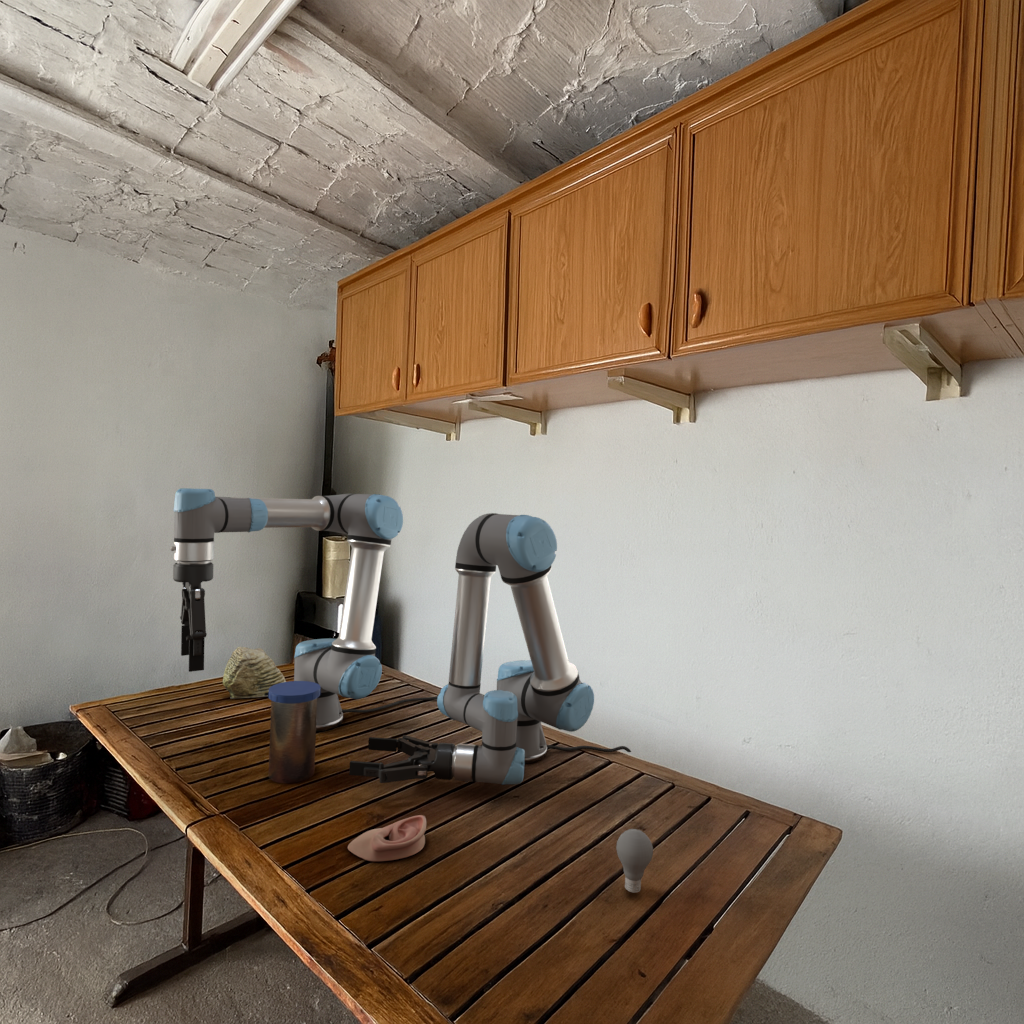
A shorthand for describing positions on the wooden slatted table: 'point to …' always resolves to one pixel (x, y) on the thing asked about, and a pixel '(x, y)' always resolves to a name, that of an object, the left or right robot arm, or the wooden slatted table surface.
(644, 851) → the light bulb
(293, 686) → the lid
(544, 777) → the wooden slatted table surface
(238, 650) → the fossil
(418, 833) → the anatomical model
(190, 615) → the left robot arm
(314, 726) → the jar
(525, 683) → the right robot arm
